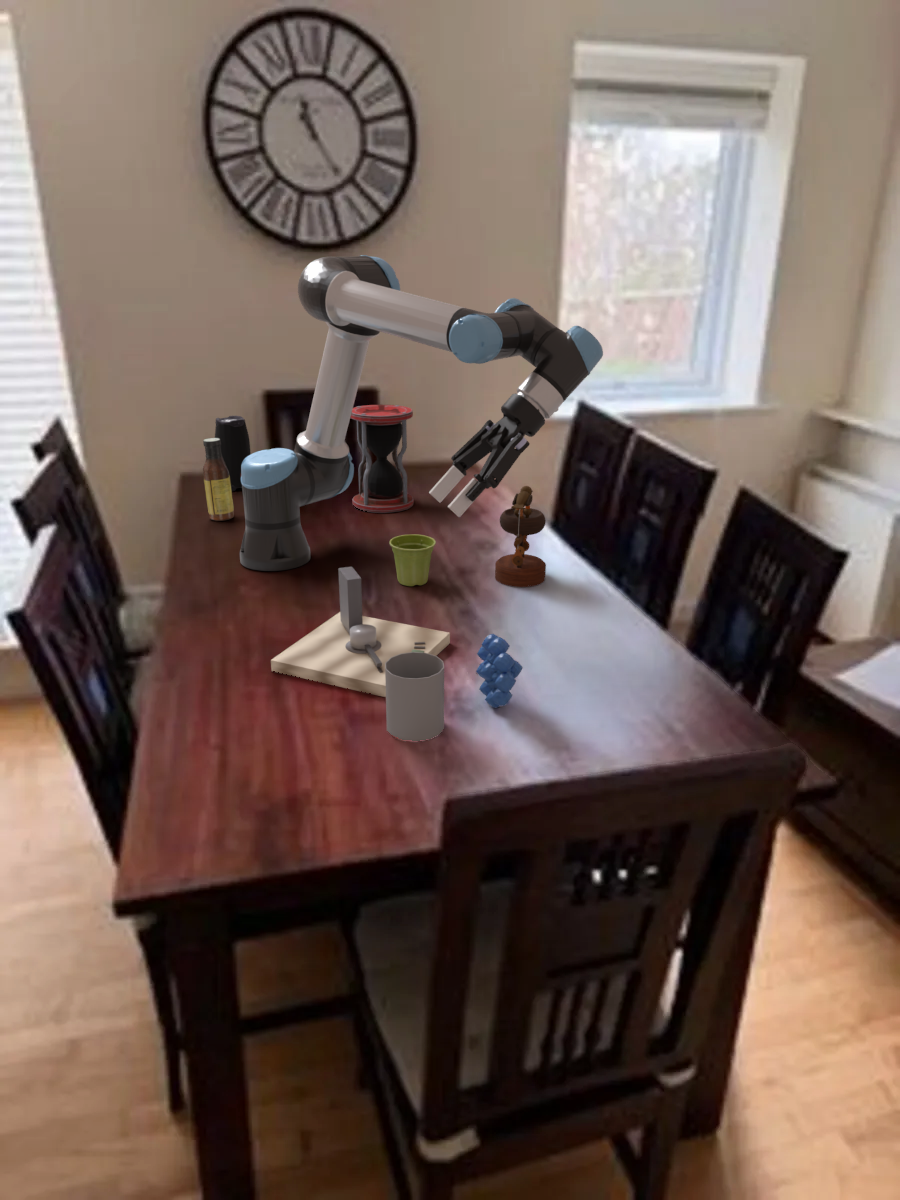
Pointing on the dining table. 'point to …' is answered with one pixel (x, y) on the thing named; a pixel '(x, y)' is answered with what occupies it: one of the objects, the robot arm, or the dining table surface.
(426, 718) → the cup
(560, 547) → the dining table surface
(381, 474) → the hourglass
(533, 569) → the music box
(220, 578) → the dining table surface
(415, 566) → the plant pot
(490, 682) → the grapes
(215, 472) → the sauce bottle
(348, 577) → the lever dial gauge
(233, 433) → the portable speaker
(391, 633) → the dial plate
